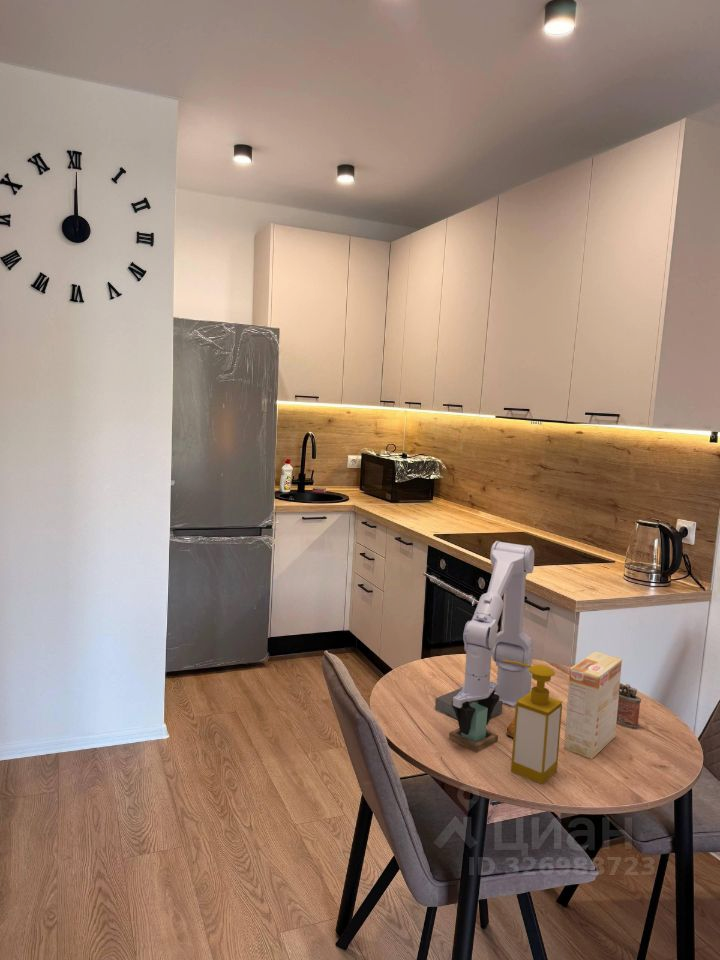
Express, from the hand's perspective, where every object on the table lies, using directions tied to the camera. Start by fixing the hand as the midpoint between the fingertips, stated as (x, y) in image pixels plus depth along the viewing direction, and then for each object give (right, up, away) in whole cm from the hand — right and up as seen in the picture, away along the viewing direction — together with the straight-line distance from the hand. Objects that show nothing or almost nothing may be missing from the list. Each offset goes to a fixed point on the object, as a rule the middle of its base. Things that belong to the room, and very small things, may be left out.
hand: (473, 728), depth 158 cm
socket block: (+1, -1, +15) cm, 15 cm away
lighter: (+39, -3, +13) cm, 41 cm away
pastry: (+13, -3, +5) cm, 15 cm away
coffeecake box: (+27, -4, +2) cm, 28 cm away
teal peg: (0, -3, 0) cm, 3 cm away
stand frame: (0, -3, 0) cm, 3 cm away
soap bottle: (+9, -5, -10) cm, 14 cm away
